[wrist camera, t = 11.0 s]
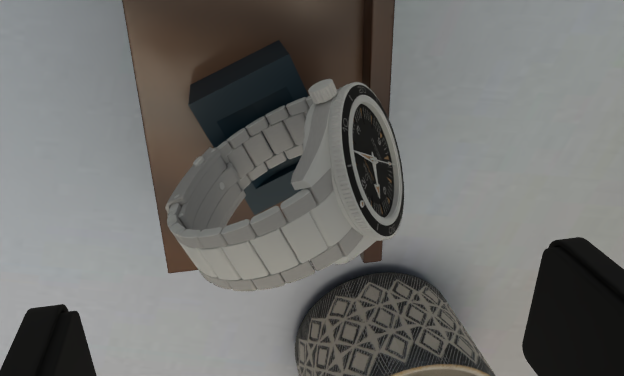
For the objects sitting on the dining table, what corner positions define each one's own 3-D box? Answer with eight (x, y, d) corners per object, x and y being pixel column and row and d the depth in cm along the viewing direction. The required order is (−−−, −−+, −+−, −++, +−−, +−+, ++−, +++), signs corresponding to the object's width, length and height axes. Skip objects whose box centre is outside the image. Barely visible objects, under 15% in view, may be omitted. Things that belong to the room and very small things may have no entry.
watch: (365, 126, 25) (468, 247, 15) (216, 200, 25) (223, 367, 15) (318, 17, 22) (406, 77, 12) (153, 101, 22) (112, 225, 13)
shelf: (135, -74, 26) (102, -80, 18) (343, -77, 28) (399, -84, 20) (176, 202, 33) (166, 287, 25) (341, 186, 35) (381, 261, 27)
